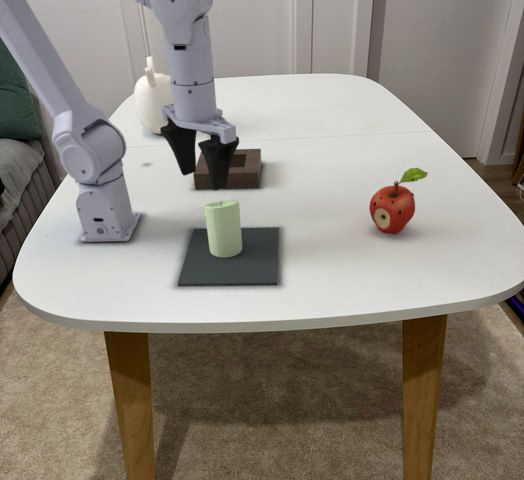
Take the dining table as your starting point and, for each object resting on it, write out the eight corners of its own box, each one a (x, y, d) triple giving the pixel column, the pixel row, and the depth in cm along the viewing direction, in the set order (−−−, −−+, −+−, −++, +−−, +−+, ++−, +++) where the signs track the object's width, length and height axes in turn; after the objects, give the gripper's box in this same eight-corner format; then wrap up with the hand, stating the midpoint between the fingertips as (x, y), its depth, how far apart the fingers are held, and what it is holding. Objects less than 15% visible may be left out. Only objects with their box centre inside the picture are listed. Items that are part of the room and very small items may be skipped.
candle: (205, 245, 79) (199, 195, 73) (236, 238, 80) (232, 189, 75) (215, 261, 75) (209, 209, 70) (246, 253, 76) (243, 202, 71)
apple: (379, 244, 78) (387, 181, 71) (360, 224, 83) (366, 164, 76) (424, 236, 79) (436, 173, 73) (402, 217, 84) (412, 156, 78)
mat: (277, 284, 71) (277, 282, 70) (177, 285, 72) (177, 283, 71) (278, 229, 83) (278, 227, 82) (193, 230, 83) (193, 228, 83)
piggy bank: (196, 134, 118) (187, 62, 108) (147, 144, 115) (134, 70, 105) (179, 120, 127) (170, 51, 117) (133, 128, 123) (120, 59, 113)
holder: (258, 188, 95) (258, 172, 93) (195, 189, 96) (193, 173, 94) (261, 163, 104) (260, 148, 102) (203, 164, 105) (201, 150, 103)
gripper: (251, 83, 64) (256, 186, 73) (185, 65, 73) (196, 160, 82) (207, 95, 61) (217, 201, 70) (143, 75, 69) (159, 172, 78)
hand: (203, 180), depth 76 cm, fingers open, 7 cm apart
